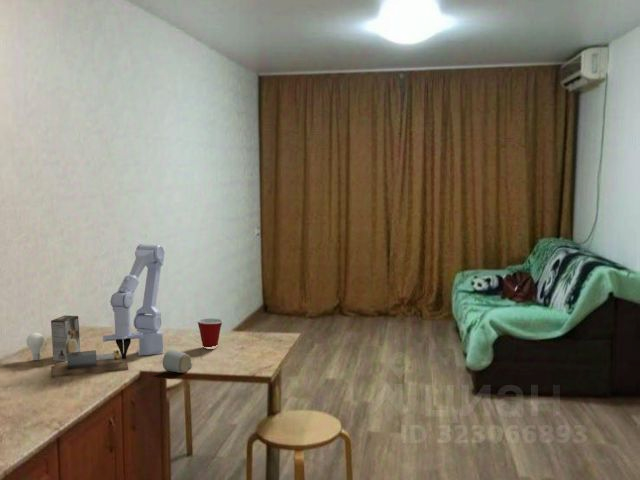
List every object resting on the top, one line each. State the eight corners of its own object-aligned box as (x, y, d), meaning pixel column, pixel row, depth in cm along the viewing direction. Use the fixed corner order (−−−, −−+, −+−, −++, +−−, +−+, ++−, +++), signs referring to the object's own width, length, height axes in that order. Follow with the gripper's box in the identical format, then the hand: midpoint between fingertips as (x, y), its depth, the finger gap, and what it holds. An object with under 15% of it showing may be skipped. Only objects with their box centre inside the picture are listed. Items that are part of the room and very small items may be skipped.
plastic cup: (229, 346, 262) (228, 318, 261) (211, 353, 253) (210, 324, 251) (209, 342, 268) (209, 315, 266) (191, 348, 259) (191, 320, 257)
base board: (126, 358, 245) (126, 356, 245) (128, 369, 232) (128, 366, 232) (54, 366, 236) (54, 363, 236) (52, 377, 223) (52, 374, 223)
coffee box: (66, 353, 252) (64, 314, 250) (80, 354, 250) (79, 315, 249) (52, 360, 243) (50, 320, 241) (67, 361, 242) (65, 321, 240)
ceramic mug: (180, 375, 225) (180, 355, 224) (162, 372, 228) (161, 352, 227) (197, 367, 234) (197, 348, 234) (180, 365, 238) (179, 345, 237)
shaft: (118, 358, 239) (118, 349, 238) (119, 361, 235) (118, 351, 235) (73, 362, 233) (73, 353, 233) (73, 365, 230) (73, 356, 230)
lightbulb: (49, 359, 244) (47, 331, 243) (35, 363, 239) (34, 335, 237) (37, 357, 247) (36, 330, 246) (23, 361, 241) (22, 333, 240)
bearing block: (96, 362, 237) (96, 350, 237) (96, 366, 232) (96, 354, 231) (68, 365, 234) (67, 352, 233) (67, 369, 228) (67, 357, 228)
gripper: (102, 327, 230) (104, 363, 231) (143, 324, 235) (144, 359, 236) (102, 323, 236) (103, 357, 238) (141, 320, 241) (142, 354, 243)
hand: (123, 358), depth 238 cm, fingers closed
